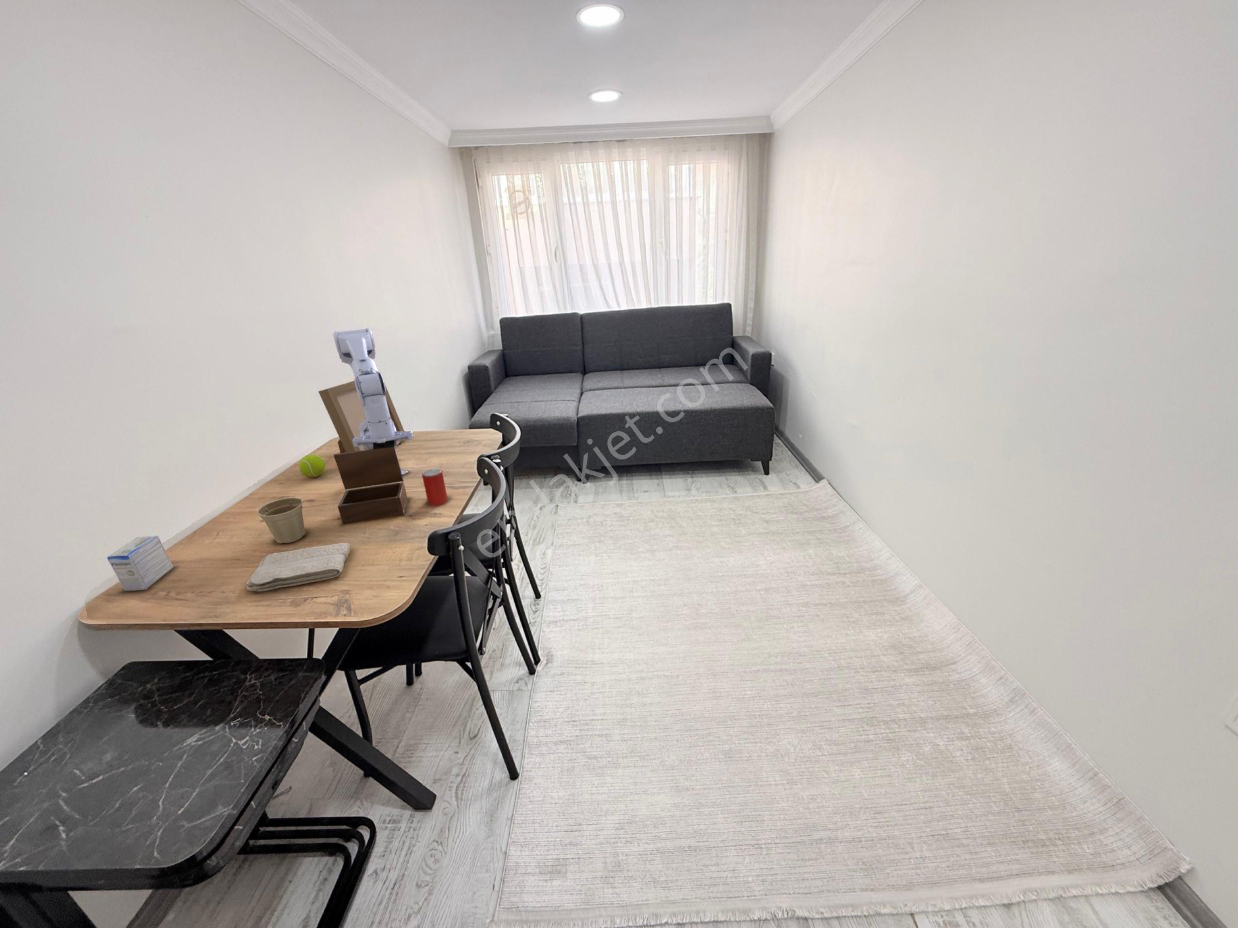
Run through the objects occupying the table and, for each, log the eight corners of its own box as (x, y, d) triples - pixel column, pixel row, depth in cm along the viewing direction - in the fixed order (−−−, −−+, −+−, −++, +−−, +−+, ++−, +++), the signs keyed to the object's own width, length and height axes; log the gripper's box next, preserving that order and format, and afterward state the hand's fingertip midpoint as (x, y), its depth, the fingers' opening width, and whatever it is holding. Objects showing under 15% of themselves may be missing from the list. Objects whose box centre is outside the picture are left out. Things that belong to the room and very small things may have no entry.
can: (423, 503, 135) (417, 474, 131) (438, 495, 139) (432, 467, 135) (437, 507, 132) (431, 477, 129) (451, 498, 136) (446, 470, 133)
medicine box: (153, 569, 110) (136, 536, 107) (174, 567, 110) (158, 534, 107) (124, 591, 103) (105, 557, 99) (146, 590, 103) (128, 555, 100)
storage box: (404, 515, 129) (399, 497, 127) (343, 524, 125) (337, 506, 123) (407, 499, 137) (403, 481, 135) (350, 507, 134) (345, 490, 132)
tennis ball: (313, 482, 151) (307, 461, 148) (297, 479, 153) (290, 458, 150) (333, 472, 156) (327, 452, 154) (317, 470, 159) (310, 450, 156)
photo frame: (408, 441, 181) (392, 374, 171) (360, 464, 162) (340, 390, 152) (377, 437, 186) (360, 372, 176) (327, 459, 167) (306, 387, 157)
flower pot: (322, 530, 123) (312, 499, 120) (288, 550, 115) (276, 518, 112) (294, 525, 126) (284, 495, 123) (259, 544, 118) (247, 513, 115)
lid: (394, 447, 130) (394, 446, 130) (333, 455, 126) (333, 454, 127) (403, 481, 135) (403, 480, 135) (345, 489, 131) (345, 488, 132)
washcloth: (266, 563, 110) (261, 552, 109) (353, 548, 115) (350, 537, 114) (245, 596, 100) (240, 583, 99) (342, 577, 104) (339, 565, 103)
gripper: (345, 428, 124) (358, 476, 129) (406, 420, 127) (417, 468, 133) (350, 419, 130) (363, 466, 136) (409, 413, 134) (419, 459, 139)
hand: (390, 467), depth 135 cm, fingers closed
